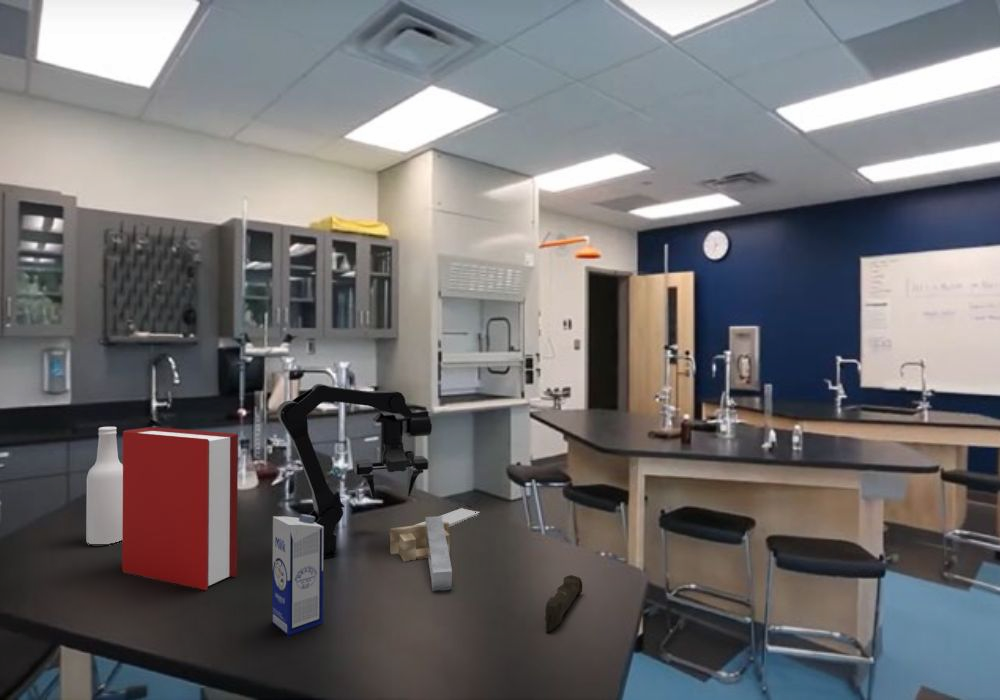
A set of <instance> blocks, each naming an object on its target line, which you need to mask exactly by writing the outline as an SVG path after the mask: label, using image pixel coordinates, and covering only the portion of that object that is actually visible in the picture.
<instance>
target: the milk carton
mask: <svg viewBox="0 0 1000 700" xmlns="http://www.w3.org/2000/svg"><path fill="white" fill-rule="evenodd" d="M314 520H315V517H314V516H311V515H309V514H303V513H300V514H299V517H293V516H284V515H283V516H272V593H271V594H272V603H271V605H272V607H271V609H272V613H271V617H272V619H271V620H272V623H273V624H274V625H275V626H276V627H277V628H278V629H280V630H281V631H282V632H283V633H285V634H286V635H287V636H292V635H294V634H296V633H299V632H300V633H301V632H302V631H306V630H308V629H310V628H313V627H316V626H318V625H322V624H324V558H323V531H324V527H323V526H321V525H319V524H317V523H315V522H314Z"/></svg>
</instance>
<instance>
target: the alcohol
mask: <svg viewBox="0 0 1000 700" xmlns="http://www.w3.org/2000/svg"><path fill="white" fill-rule="evenodd" d="M117 428H118V427H116V426H102V427H99V428H98V429H97V430H98V432H97V435H98V444H97V453H96V461H95V462H94V463H95V464H94V465H93V466H92V467H91V468H89V470H88V473H87V476H86V506H85V507H86V511H85V512H86V515H85V516H86V518H85V519H86V520H85V522H86V524H85V525H86V528H85V529H86V531H85V532H86V535H85V536H86V538H85V539H86V543H87V544H88V543H89V544H110V543H115V542H119V541H121V540H122V530H123V463H122V462H121V461H120V460H119V452H118V443H117V441H118V439H117ZM89 544H88V545H89Z"/></svg>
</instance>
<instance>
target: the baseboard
mask: <svg viewBox="0 0 1000 700" xmlns="http://www.w3.org/2000/svg"><path fill="white" fill-rule="evenodd" d="M459 506H461V508H459V507H458V506H457V507H456V506H455V510H453V511H450V512H447V513H445V514H442V515H440V516H442V520H443V522H448V523H449V528H450V526H451V527H452V526H455V524H456V525H458V524H461V523H463V522H465V521H464V520H466V521H468V520H467V519H468V518H471V517H474V516H476V517H478V516H477V515H479V514H478V513H480V511H481V509H480V508H479V509H478V508H477V511H475V508H472V505H466V506H463V507H465V508H466V509H465V508H462V505H460V504H459ZM467 508H469V509H471V508H472V509H474V510H469V509H467ZM478 510H479V511H478ZM475 512H476V513H475ZM480 514H481V513H480ZM479 516H480V515H479ZM474 518H475V517H474ZM471 519H472V518H471ZM462 521H463V522H462ZM460 522H461V523H460ZM457 523H458V524H457ZM424 524H425V521H423V522H420V523H419V522H418V523H416V524H414V525H412V526H415V525H424ZM389 535H390V533H389Z"/></svg>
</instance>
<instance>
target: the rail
mask: <svg viewBox="0 0 1000 700" xmlns="http://www.w3.org/2000/svg"><path fill="white" fill-rule="evenodd" d="M424 520H425V521H424V522H425V536H426V544H427V552H428V558H427V559H428V566H429V573H430V575H429V576H430V582H431V589H432V592H437V590H441V591H450V589H451V590H452V584H453V583H452V580H453V579H452V578H453V569H452V563H451V558H450V557H451V556H450V555H449V552H448V546H447V541H446V536H445V531H444V525H443V520H442V516H441V515H439V516H425V519H424Z"/></svg>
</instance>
